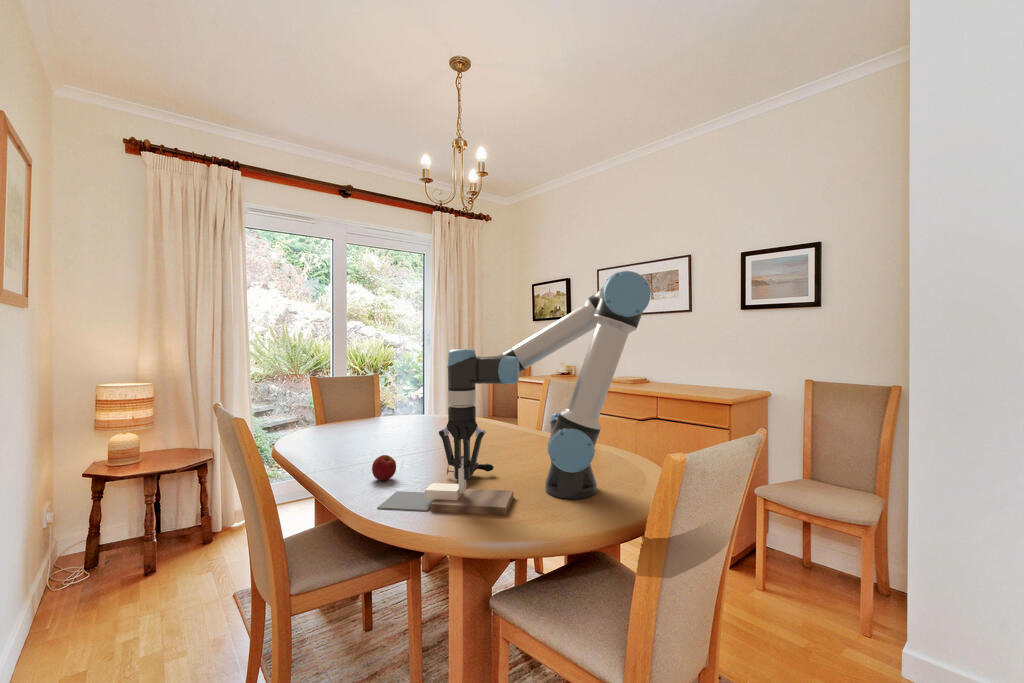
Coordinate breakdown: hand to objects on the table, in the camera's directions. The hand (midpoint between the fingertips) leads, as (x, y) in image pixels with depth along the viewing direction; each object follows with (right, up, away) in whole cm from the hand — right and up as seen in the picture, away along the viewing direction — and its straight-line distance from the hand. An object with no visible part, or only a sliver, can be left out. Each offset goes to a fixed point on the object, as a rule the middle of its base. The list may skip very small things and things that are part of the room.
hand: (462, 490), depth 126 cm
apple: (-28, -4, +22) cm, 36 cm away
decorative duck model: (0, -4, +21) cm, 21 cm away
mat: (-15, -4, +2) cm, 15 cm away
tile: (-5, -2, +1) cm, 5 cm away
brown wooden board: (+3, -4, 0) cm, 5 cm away
